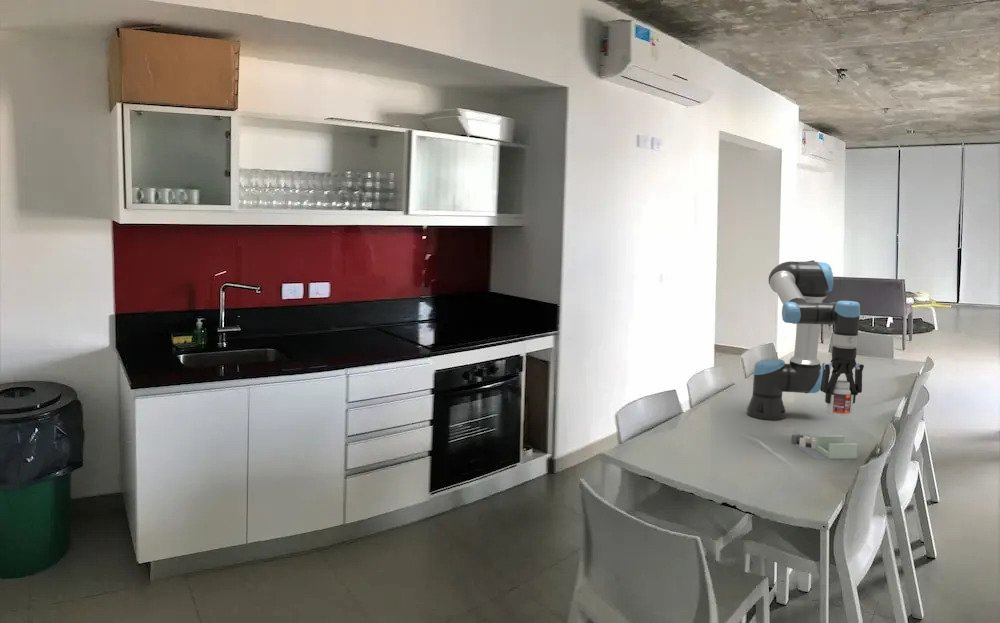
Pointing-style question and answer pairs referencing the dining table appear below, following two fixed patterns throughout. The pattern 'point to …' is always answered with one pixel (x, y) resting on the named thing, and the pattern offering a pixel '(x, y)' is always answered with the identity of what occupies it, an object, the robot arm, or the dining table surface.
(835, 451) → the end holder
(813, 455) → the board
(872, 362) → the dining table surface
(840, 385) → the pill bottle
